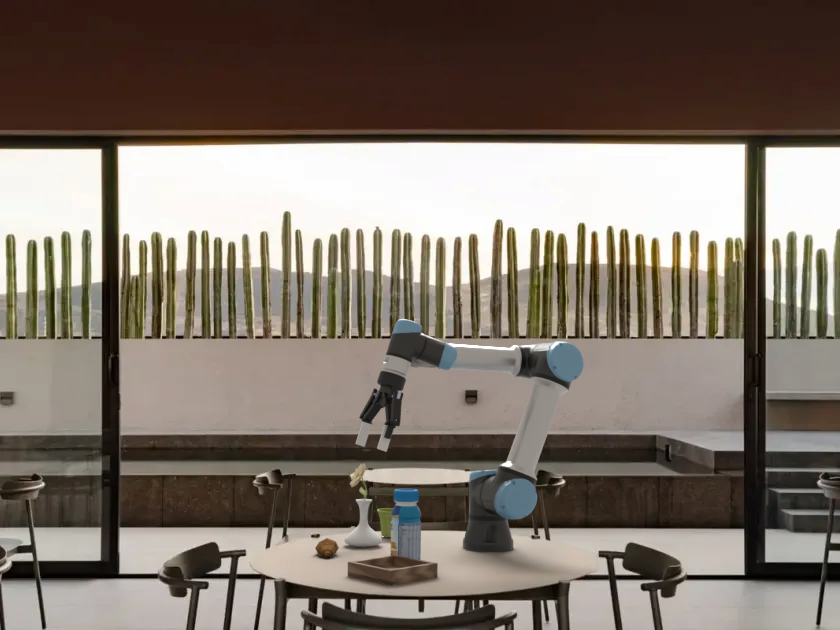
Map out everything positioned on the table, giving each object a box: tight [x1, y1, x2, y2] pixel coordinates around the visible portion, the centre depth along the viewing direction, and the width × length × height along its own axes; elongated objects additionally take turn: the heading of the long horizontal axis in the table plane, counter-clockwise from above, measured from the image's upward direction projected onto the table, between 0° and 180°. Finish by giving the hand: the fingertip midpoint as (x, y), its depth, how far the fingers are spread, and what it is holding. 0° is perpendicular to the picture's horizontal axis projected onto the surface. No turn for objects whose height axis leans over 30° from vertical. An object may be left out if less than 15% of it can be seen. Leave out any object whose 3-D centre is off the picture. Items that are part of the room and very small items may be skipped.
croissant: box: [314, 537, 340, 559], centre depth 275 cm, size 14×7×5 cm, turn 8°
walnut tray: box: [347, 554, 439, 587], centre depth 244 cm, size 16×16×4 cm
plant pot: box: [376, 507, 394, 538], centre depth 309 cm, size 9×9×9 cm
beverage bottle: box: [390, 488, 423, 560], centre depth 261 cm, size 8×8×20 cm
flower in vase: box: [344, 463, 383, 548], centre depth 290 cm, size 13×11×25 cm
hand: (370, 447), depth 264 cm, fingers open, 13 cm apart
